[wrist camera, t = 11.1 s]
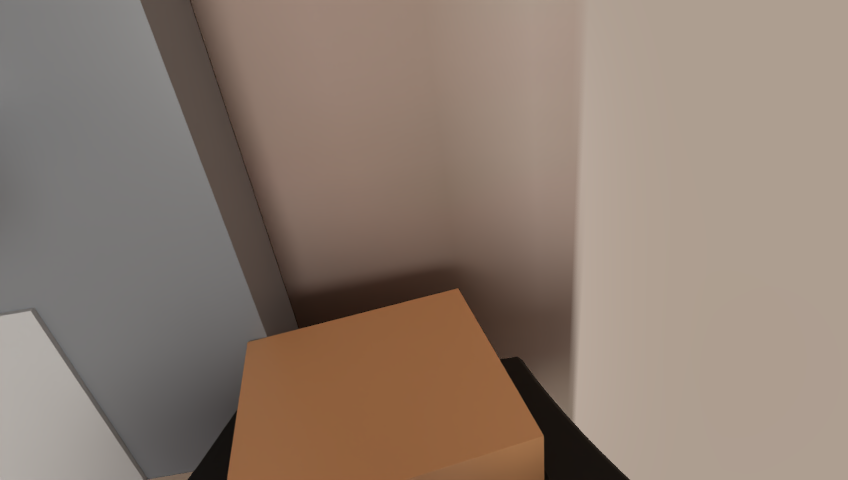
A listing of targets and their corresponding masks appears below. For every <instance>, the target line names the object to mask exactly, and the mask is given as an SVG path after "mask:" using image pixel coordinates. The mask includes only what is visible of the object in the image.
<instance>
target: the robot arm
mask: <svg viewBox="0 0 848 480" xmlns="http://www.w3.org/2000/svg"><path fill="white" fill-rule="evenodd" d="M500 361H501V363H502V365H503V366H504V368H505V370H506V372H507V373H508V375H509V377H510V378H511V380H512V382H513V384H514V385H515V387H516V389H517V390H518V392H519V394H520V396H521V397H522V399H523V401H524V402H525V404H526V406H527V408H528V409H529V411H530V413H531V415H532V416H533V418H534V420H535V421H536V423H537V425H538V427H539V428H540V430H541V432H542V433H543V435H544V480H629V479H628V477H626V476H625V475H624V474H623V473H622V472H621V471H620V470H619V469H618V468H617V467H616V466H615V465H614V464H613V463H612V462H611V461H610V460H609V459H608V458H607V457H606V456H605V455H604V454H602V452H601V451H599V449H598V448H597V447H596V446H595V445H594V444H593V443H592V442H591V441H590V440H589V439H588V438H587V437H586V436H585V435H584V434H583V433H582V432H581V431H580V429H579V428H578V427H577V426H576V425H575V424H574V423H573V422H572V421H571V420H570V418H569V417H568V416H567V415H566V414H565V413H564V412H563V411H562V410H561V408H560V407H559V406H558V405H557V404H556V403H555V402H554V400H553V399H552V398H551V397H550V396H549V394H548V393H547V392H546V391H545V390H544V388H543V387H542V386H541V385H540V383H539V382H538V381H537V380H536V378H535V377H534V376H533V374H532V373H531V372H530V370H529V369H528V368H527V366H526V365H525V363H524V362H523V360H521V359H520V358H518V357H513V358H507V359H501V360H500ZM236 416H237V410H236V412H235V413H234V415H233V416H232V417H231V419H230V420H229V422H228V423H227V425H226V426H225V427H224V429H223V430H222V432H221V433H220V435H219V436H218V438H217V439H216V441H215V442H214V443H213V445H212V446H211V448H210V449H209V451H208V452H207V453H206V455H205V456H204V458H203V459H202V461H201V462H200V463H199V465H198V466H197V468H196V469H195V470H194V472H193V473H192V475H191V476H190V477H189V479H188V480H227V476H228V470H229V463H230V456H231V450H232V443H233V436H234V429H235V423H236Z"/></svg>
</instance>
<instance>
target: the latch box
mask: <svg viewBox="0 0 848 480" xmlns="http://www.w3.org/2000/svg"><path fill="white" fill-rule="evenodd" d="M297 329H299V328H298V325H297V322H296V319H295V316H294V313H293V310H292V307H291V304H290V301H289V298H288V295H287V292H286V289H285V286H284V283H283V280H282V277H281V274H280V271H279V268H278V265H277V262H276V259H275V256H274V253H273V250H272V247H271V244H270V241H269V238H268V235H267V232H266V229H265V226H264V223H263V220H262V217H261V214H260V211H259V208H258V205H257V202H256V199H255V196H254V193H253V190H252V187H251V184H250V181H249V178H248V175H247V171H246V168H245V165H244V162H243V159H242V156H241V153H240V150H239V147H238V144H237V141H236V138H235V135H234V132H233V129H232V126H231V123H230V120H229V117H228V114H227V111H226V108H225V105H224V102H223V99H222V96H221V93H220V90H219V87H218V84H217V81H216V78H215V75H214V72H213V69H212V66H211V63H210V60H209V57H208V54H207V51H206V48H205V45H204V42H203V39H202V36H201V33H200V30H199V27H198V24H197V21H196V18H195V15H194V12H193V9H192V6H191V3H190V0H0V480H148V479H153V478H158V477H164V476H170V475H175V474H181V473H187V472H192V471H194V470H195V469H196V468H197V466H198V465H199V463H200V462H201V461H202V459H203V458H204V456H205V455H206V453H207V452H208V451H209V449H210V448H211V446H212V445H213V443H214V442H215V441H216V439H217V438H218V436H219V435H220V433H221V432H222V430H223V429H224V427H225V426H226V425H227V423H228V422H229V420H230V419H231V417H232V416H233V415H234V413H235V412H236V410H237V409H238V403H239V396H240V389H241V383H242V376H243V369H244V363H245V356H246V349H247V343H248V342H250V341H254V340H258V339H262V338H266V337H270V336H273V335H277V334H281V333H285V332H289V331H293V330H297Z"/></svg>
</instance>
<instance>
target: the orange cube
mask: <svg viewBox="0 0 848 480" xmlns="http://www.w3.org/2000/svg"><path fill="white" fill-rule="evenodd" d="M227 480H544V435H543V433H542V432H541V430H540V428H539V427H538V425H537V423H536V421H535V420H534V418H533V416H532V415H531V413H530V411H529V409H528V408H527V406H526V404H525V402H524V401H523V399H522V397H521V396H520V394H519V392H518V390H517V389H516V387H515V385H514V384H513V382H512V380H511V378H510V377H509V375H508V373H507V372H506V370H505V368H504V366H503V365H502V363H501V361H500V360H499V358H498V356H497V354H496V353H495V351H494V349H493V348H492V346H491V344H490V342H489V341H488V339H487V337H486V335H485V334H484V332H483V330H482V329H481V327H480V325H479V323H478V322H477V320H476V318H475V317H474V315H473V313H472V311H471V310H470V308H469V306H468V305H467V303H466V301H465V299H464V298H463V296H462V294H461V293H460V291H459V289H458V288H457V289H453V290H450V291H446V292H442V293H438V294H434V295H430V296H426V297H422V298H418V299H414V300H410V301H406V302H403V303H399V304H395V305H391V306H387V307H383V308H379V309H375V310H371V311H367V312H363V313H360V314H356V315H352V316H348V317H344V318H340V319H336V320H332V321H328V322H324V323H320V324H316V325H313V326H309V327H305V328H301V329H297V330H293V331H289V332H285V333H281V334H277V335H273V336H270V337H266V338H262V339H258V340H254V341H250V342H248V343H247V349H246V356H245V363H244V369H243V376H242V383H241V389H240V396H239V403H238V409H237V416H236V423H235V429H234V436H233V443H232V450H231V456H230V463H229V470H228V476H227Z"/></svg>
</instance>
